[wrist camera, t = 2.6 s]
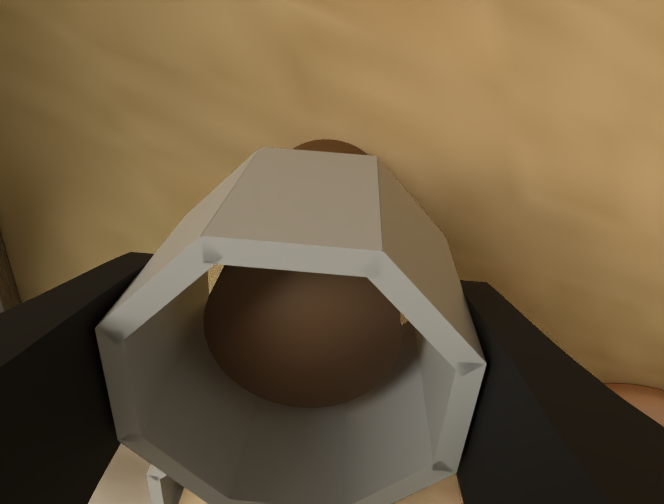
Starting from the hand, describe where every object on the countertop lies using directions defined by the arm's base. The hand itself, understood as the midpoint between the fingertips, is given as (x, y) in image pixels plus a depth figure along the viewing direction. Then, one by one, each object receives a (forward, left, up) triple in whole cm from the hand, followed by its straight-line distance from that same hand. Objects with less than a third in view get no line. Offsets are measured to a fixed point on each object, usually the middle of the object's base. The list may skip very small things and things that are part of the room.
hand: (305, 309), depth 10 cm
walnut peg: (0, 0, -6) cm, 6 cm away
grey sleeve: (0, 0, -1) cm, 1 cm away
